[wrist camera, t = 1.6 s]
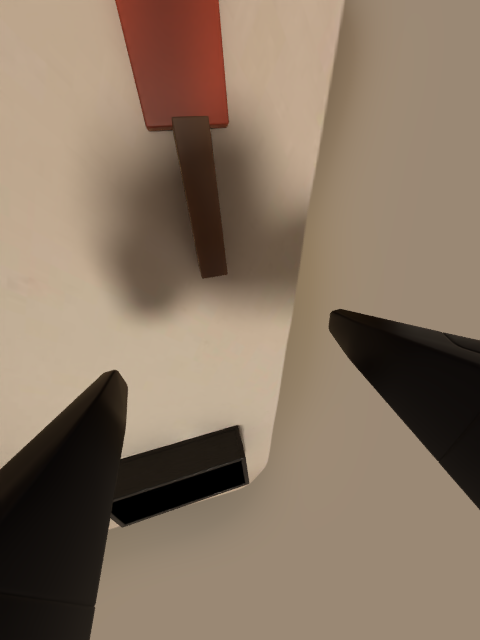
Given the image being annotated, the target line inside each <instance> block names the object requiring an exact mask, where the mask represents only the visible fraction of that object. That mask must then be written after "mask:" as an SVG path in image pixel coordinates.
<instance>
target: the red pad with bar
mask: <svg viewBox="0 0 480 640" xmlns="http://www.w3.org/2000/svg"><path fill="white" fill-rule="evenodd" d="M115 1H116V6H117V10H118V14H119V18H120V22H121V26H122V30H123V34H124V38H125V42H126V47H127V51H128V55H129V59H130V63H131V67H132V71H133V75H134V79H135V83H136V88H137V92H138V96H139V100H140V104H141V108H142V112H143V116H144V120H145V124H146V127H147V129H148V130H149V131H157V130H173V134H174V139H175V145H176V150H177V155H178V160H179V165H180V170H181V175H182V181H183V186H184V191H185V196H186V201H187V206H188V212H189V217H190V222H191V227H192V232H193V237H194V242H195V248H196V253H197V258H198V263H199V268H200V272H201V276H202V278H203V279H204V278H210V277H216V276H222V275H227V274H228V272H227V264H226V256H225V248H224V239H223V231H222V223H221V215H220V206H219V198H218V190H217V182H216V173H215V165H214V157H213V149H212V141H211V132H210V128H226V127H227V126H228V124H229V119H228V107H227V95H226V83H225V71H224V59H223V48H222V36H221V24H220V12H219V0H115Z"/></svg>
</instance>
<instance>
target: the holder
mask: <svg viewBox="0 0 480 640" xmlns="http://www.w3.org/2000/svg"><path fill="white" fill-rule="evenodd" d="M247 484H249V478H248V471H247V464H246V457H245V453H244V449H243V445H242V441H241V437H240V433H239V429H238V426H234V427H230V428H227V429H224V430H220V431H217V432H213V433H210V434H207V435H203V436H200V437H196V438H193V439H190V440H186V441H183V442H179V443H176V444H173V445H169V446H166V447H162V448H159V449H156V450H152V451H149V452H145V453H142V454H138V455H135V456H132V457H128V458H125V459H121V460H120V464H119V470H118V476H117V482H116V488H115V493H114V499H113V505H112V511H111V517H110V518H111V519H112V520H113V521H115V522H116V523H117V524H118V525H120V526H121V527H125V526H128V525H131V524H134V523H136V522H140V521H142V520H145V519H148V518H151V517H154V516H157V515H160V514H163V513H166V512H169V511H172V510H174V509H177V508H180V507H183V506H186V505H189V504H192V503H195V502H198V501H201V500H203V499H206V498H209V497H212V496H215V495H218V494H221V493H224V492H227V491H229V490H232V489H235V488H238V487H241V486H244V485H247Z"/></svg>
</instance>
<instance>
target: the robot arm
mask: <svg viewBox="0 0 480 640" xmlns="http://www.w3.org/2000/svg"><path fill="white" fill-rule="evenodd" d="M329 331H330V332H331V334H332V335H333V337H334V338H335V340H336V341H337V342H338V344H339V345H340V347H341V348H342V350H343V351H344V352H345V354H346V355H347V357H348V358H349V359H350V360H351V362H352V363H353V364H354V365H355V366H356V367H357V369H358V370H359V371H360V372H361V373H362V374H363V376H364V377H365V378H366V379H367V380H368V381H369V382H370V384H371V385H372V386H373V387H374V388H375V389H376V390H377V392H378V393H379V394H380V395H381V396H382V397H383V399H384V400H385V401H386V402H387V403H388V404H389V405H390V407H391V408H392V409H393V410H394V411H395V412H396V413H397V415H398V416H399V417H400V418H401V419H402V420H403V422H404V423H405V424H406V425H407V426H408V427H409V429H410V430H411V431H412V432H413V433H414V434H415V435H416V437H417V438H418V439H419V440H420V441H421V442H422V444H423V445H424V446H425V447H426V448H427V449H428V450H429V452H430V453H431V454H432V455H433V456H434V457H435V458H436V460H437V461H439V463H440V464H441V466H442V467H443V468H444V469H445V470H446V471H447V473H448V474H449V475H450V476H451V477H452V478H453V480H454V481H455V482H456V483H457V484H458V485H459V486H460V488H461V489H462V490H463V491H464V492H465V493H466V495H468V497H469V498H470V499H471V500H472V501H473V503H474V504H475V505H476V506H477V507H478V508H479V510H480V340H475V339H471V338H466V337H462V336H457V335H452V334H448V333H442V332H439V331H435V330H431V329H426V328H422V327H417V326H413V325H408V324H404V323H400V322H395V321H391V320H387V319H382V318H378V317H374V316H369V315H364V314H361V313H356V312H352V311H347V310H343V309H338V310H335V311H332V312H331V313H330V320H329ZM127 397H128V387H127V384H126V382H125V381H124V379H123V378H122V376H121V375H120V373H119V372H118V371H117V370H112V371H108V372H105V373H103V374H102V375H101V376H100V377H99V378H98V379H97V380H96V381H95V382H94V383H92V384H91V385H90V386H89V387H88V388H87V389H86V390H85V391H84V392H83V393H82V394H81V395H80V396H78V397H77V398H76V399H75V400H74V401H73V402H72V403H71V404H70V405H69V406H68V407H67V408H66V409H65V410H63V411H62V412H61V413H60V414H59V415H58V416H57V417H56V418H55V419H54V420H53V421H52V422H51V423H50V424H48V425H47V426H46V427H45V428H44V429H43V430H42V431H41V432H40V433H39V434H38V435H37V436H36V437H35V438H33V439H32V440H31V441H30V442H29V443H28V444H27V445H26V446H25V447H24V448H23V449H22V450H21V451H20V452H18V453H17V454H16V455H15V456H14V457H13V458H12V459H11V460H10V461H9V462H8V463H7V464H6V465H5V466H3V467H2V468H1V469H0V640H90V634H91V629H92V623H93V617H94V611H95V607H94V606H95V603H96V598H97V592H98V586H99V581H100V575H101V569H102V563H103V557H104V552H105V545H106V540H107V534H108V528H109V523H110V517H111V511H112V505H113V499H114V493H115V488H116V482H117V476H118V470H119V464H120V459H121V453H122V447H123V441H124V435H125V429H126V416H127Z"/></svg>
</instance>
